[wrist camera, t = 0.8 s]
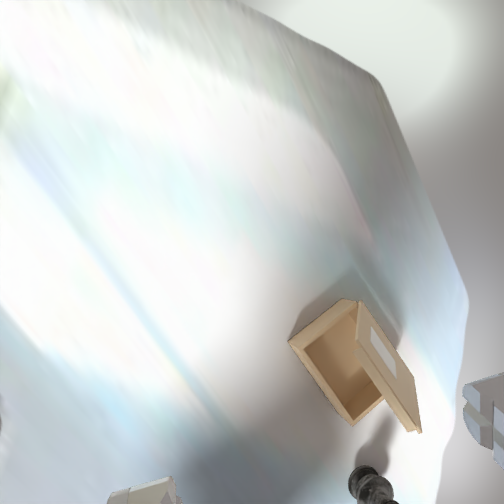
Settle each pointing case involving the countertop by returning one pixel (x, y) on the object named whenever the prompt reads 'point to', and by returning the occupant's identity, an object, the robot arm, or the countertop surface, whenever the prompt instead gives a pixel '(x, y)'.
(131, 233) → the countertop surface
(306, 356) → the mailer box
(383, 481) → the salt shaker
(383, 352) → the lid
